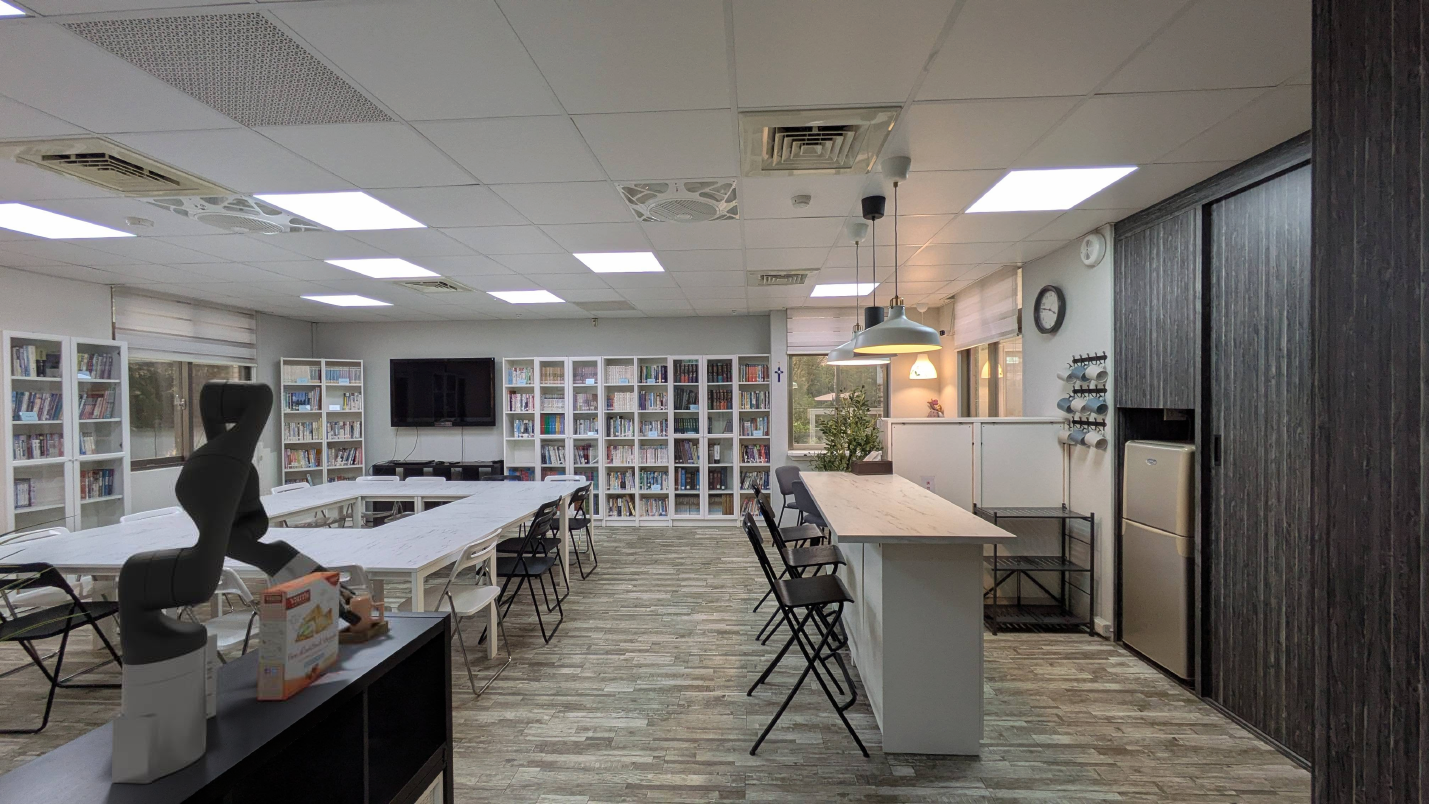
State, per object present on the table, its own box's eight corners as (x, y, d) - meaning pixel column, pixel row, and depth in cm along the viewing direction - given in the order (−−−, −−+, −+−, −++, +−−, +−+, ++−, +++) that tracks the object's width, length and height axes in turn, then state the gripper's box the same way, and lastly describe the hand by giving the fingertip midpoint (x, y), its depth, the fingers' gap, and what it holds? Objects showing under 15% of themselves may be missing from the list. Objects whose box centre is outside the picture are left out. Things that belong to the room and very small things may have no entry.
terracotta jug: (382, 635, 126) (382, 597, 126) (347, 640, 123) (348, 602, 124) (385, 628, 130) (385, 592, 130) (352, 633, 127) (352, 596, 128)
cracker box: (286, 701, 99) (287, 590, 100) (255, 702, 99) (256, 591, 100) (341, 667, 113) (341, 570, 114) (313, 667, 113) (314, 570, 114)
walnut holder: (364, 650, 121) (364, 635, 121) (326, 650, 122) (326, 635, 122) (393, 633, 130) (393, 619, 131) (357, 633, 131) (357, 619, 131)
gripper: (309, 571, 117) (369, 613, 121) (325, 557, 130) (379, 595, 134) (279, 599, 114) (342, 640, 119) (299, 581, 127) (354, 620, 132)
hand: (362, 616), depth 127 cm, fingers open, 8 cm apart
